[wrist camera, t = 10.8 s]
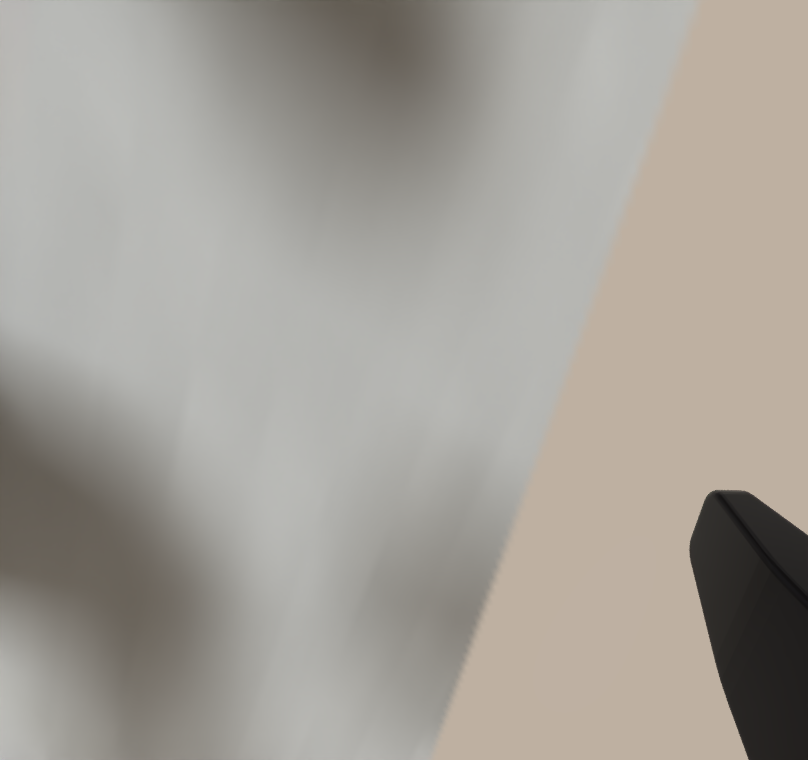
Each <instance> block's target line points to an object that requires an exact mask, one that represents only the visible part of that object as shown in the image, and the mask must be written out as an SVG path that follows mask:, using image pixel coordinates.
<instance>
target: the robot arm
mask: <svg viewBox="0 0 808 760" xmlns="http://www.w3.org/2000/svg"><path fill="white" fill-rule="evenodd" d="M690 559H691V564H692V568H693V572H694V577H695V580H696V585H697V589H698V593H699V597H700V601H701V605H702V609H703V613H704V617H705V622H706V626H707V630H708V634H709V638H710V642H711V646H712V650H713V654H714V658H715V662H716V666H717V670H718V673H719V677H720V680H721V683H722V686H723V689H724V692H725V695H726V698H727V701H728V704H729V707H730V710H731V712H732V715H733V717H734V721H735V723H736V726H737V729H738V731H739V734H740V737H741V740H742V742H743V745H744V748H745V751H746V753H747V756H748V759H749V760H808V535H807V534H805V533H804V532H803V531H801V530H800V529H799V528H797V527H796V526H794V525H793V524H792V523H790V522H789V521H788V520H786V519H785V518H784V517H782V516H781V515H780V514H778V513H777V512H775V511H774V510H773V509H771V508H770V507H769V506H767V505H766V504H764V503H763V502H761V501H760V500H759V499H758V498H756V497H755V496H754V495H752V494H750V493H749V492H746V491H739V490H715V491H712V492H710V493H709V494H708V495H707V497H706V499H705V501H704V504H703V507H702V509H701V512H700V515H699V517H698V520H697V523H696V526H695V529H694V531H693V534H692V537H691V541H690Z"/></svg>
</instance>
